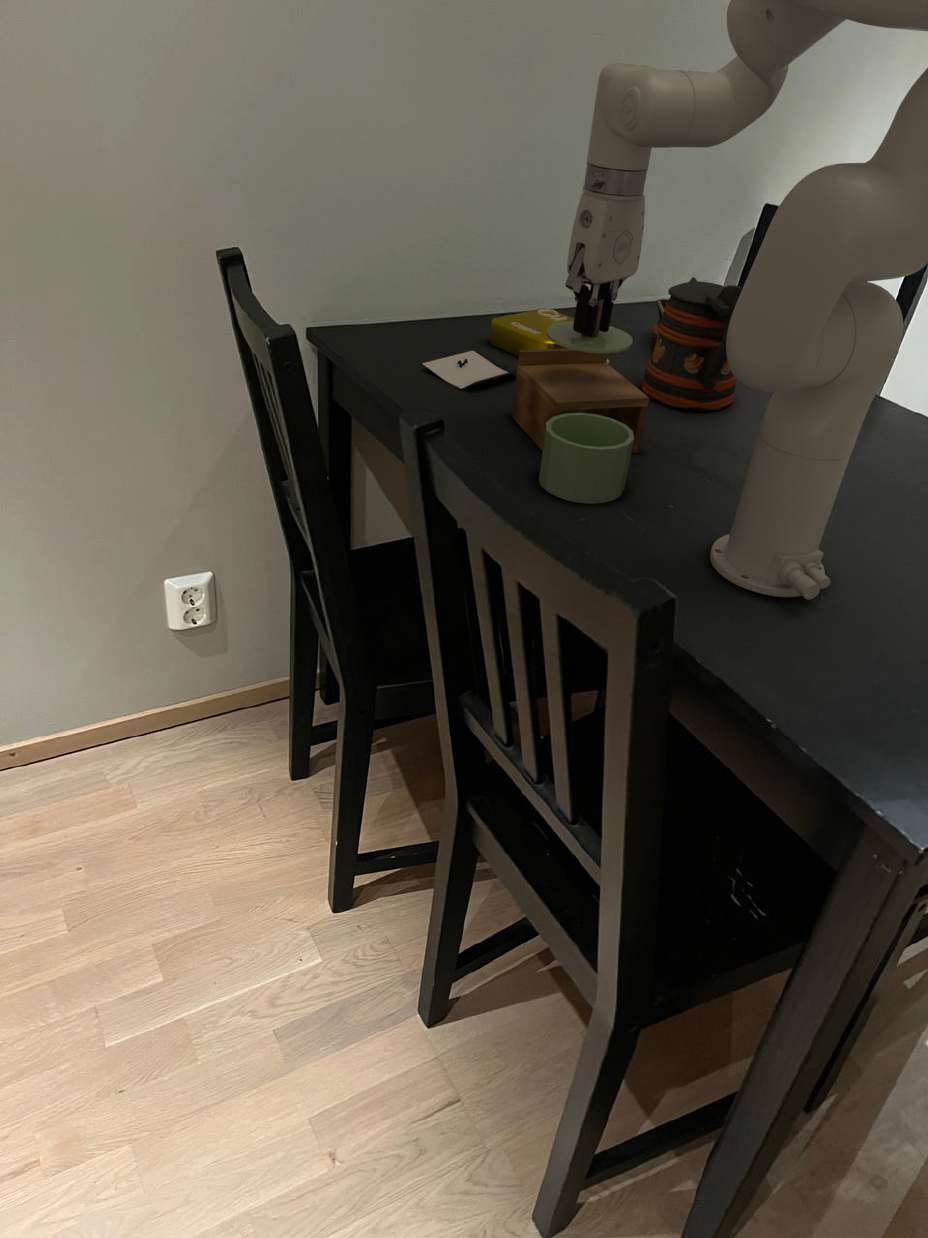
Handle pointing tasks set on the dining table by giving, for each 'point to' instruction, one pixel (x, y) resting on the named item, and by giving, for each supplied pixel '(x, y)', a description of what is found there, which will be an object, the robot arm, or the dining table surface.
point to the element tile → (525, 330)
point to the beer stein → (693, 348)
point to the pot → (585, 457)
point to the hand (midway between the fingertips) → (590, 330)
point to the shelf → (573, 391)
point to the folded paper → (466, 369)
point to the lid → (597, 343)
